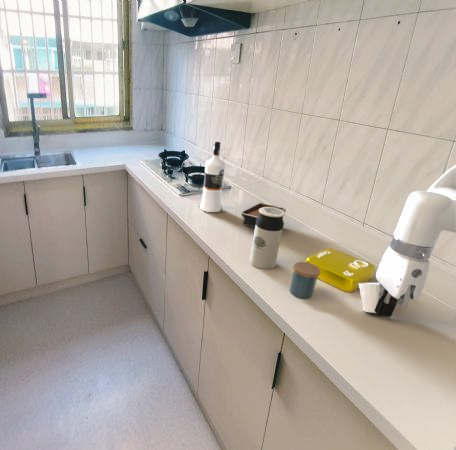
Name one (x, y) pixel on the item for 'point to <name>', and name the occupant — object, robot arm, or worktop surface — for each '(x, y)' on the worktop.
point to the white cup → (369, 296)
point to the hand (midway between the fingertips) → (382, 314)
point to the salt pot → (304, 280)
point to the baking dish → (256, 213)
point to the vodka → (213, 182)
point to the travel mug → (267, 237)
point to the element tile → (341, 269)
